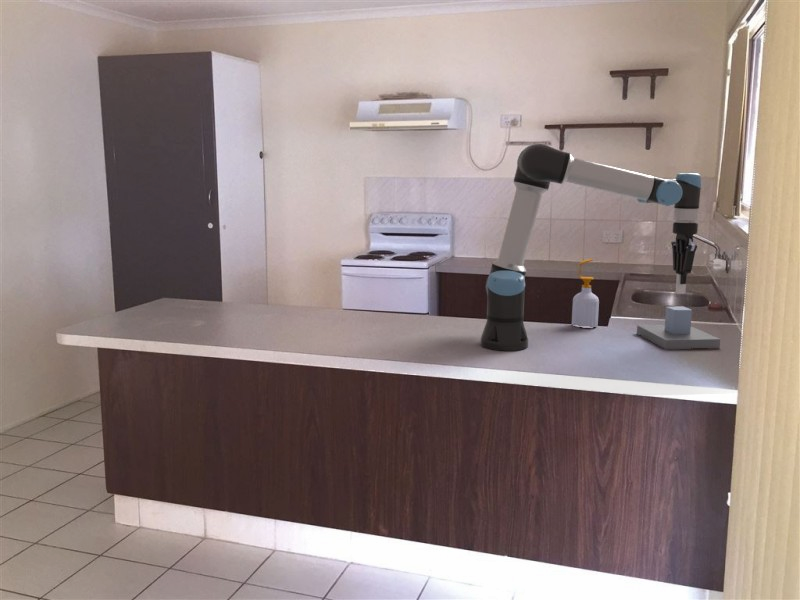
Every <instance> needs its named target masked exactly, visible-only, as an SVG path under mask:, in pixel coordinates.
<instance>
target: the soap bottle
mask: <svg viewBox="0 0 800 600" xmlns="http://www.w3.org/2000/svg"><path fill="white" fill-rule="evenodd" d="M593 261H594V259H593V258H588V259H584V260H581V261H580V262H579V265H578V266H579V267H578V276H579V279H580V280H582V282H584V284H581V291H580V292H578V293H576V294H575V295H574V296H573V298H572V311H571V325H578V326H590V327H596V328H597V327H598V324H599V310H600V309H599V306H600V305H599V304H600V300H599V297H598V296H597V295H596V294H594V293H593V292H592V285H590V283H591V282H592V281H593V280H594V279H595V278H594V277H593V276H581V274H582V273H581V272H582V271H581V267H582V265H583V264H587V263H589V262H593ZM574 328H577V326H575V327H574Z"/></svg>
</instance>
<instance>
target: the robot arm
mask: <svg viewBox="0 0 800 600" xmlns="http://www.w3.org/2000/svg"><path fill="white" fill-rule="evenodd" d="M516 161H517V162H516V163H517V166H516V170H515V174H514V177H513V178H514V179H513V184H514V186H515V189H516V190H515V192H514V197H513V201H512V204H511V209H510V212H509V217H508V219H507V223H506V228H505V232H504V235H503V239H502V242H501V246H500V251H499V255H498V258H497V259H495V260H494V261H492V264H491V267H490V270H489V275H488V277H487V279H486V282H485V292H486V295H487V297H486V298H487V301H486V302H487V303H486V322H485V325H484V328H483V331H482V333H481V336H480V346H482V348H486V349H489V350H496V351H508V352H509V351H521V350H525V349H527V348H528V347H529V338H528V335H527V330H526V327H525V324H524V315H525V311H524V310H525V309H524V308H525V288H526V280H525V277H526V273H527V268H526V267H525V265H524V264H525V260H526V256H527V252H528V249H529V245H530V242H531V241H530V240H531V238H532V234H533V229H534V227H535V223H536V220H537V215H538V211H539V207H540V203H541V200H542V196H543V194H544V193H547V192H548V191H549V187H550V185H551V183H554V184H558V185H559V184H560V185H563V184H565V183H569V184H574V185H579V186H582V187H587V188H591V189H595V190H600V191H604V192H608V193H613V194H617V195H621V196H625V197H628V198H634V199H636V200H637V201H638V203H643V204H658V205H662V206H665V207H669V206H673V207H674V208H673V218H672V219H673V221H674V222H673V223H672V233H673V234H674V235H675V240H674V241H673V240H672V241H671V247H672V248H671V249H672V270H673V271H674V272H675V274H676V280H675V292H674V294H676V295H685V294H686V293H687V292H686V291H687V278H688V277H687V275H689V274H691V273H692V269H693V266H694V265H693V263H694V260H695V255H696V254H695V253H696V250H697V249H698V245H697V244H694V237H693V236H694V235H697V234H698V230H699V229H698V228H699V224H698V221H699V216H700V215H699V214H700V203H701V201H700V199H701V192H702V190H701V189H702V175H701V174H700V173H695V172H694V173H692V172H691V173H690V172H688V173H686V172H685V173H683V172H680V173H677V174H676V177H675V178H673V179H664V178H660V177H657V176H652V175H647V174H644V173H639V172H636V171H631V170H628V169H623V168H619V167H615V166H611V165H606V164H602V163H597V162H594V161H589V160H585V159H580V158H576V157H573V156H572V154H571V153H570V152H566V151H563V150H559V149H558V148H555V147H554V148H553V147H552V146H549V145H546V144H544V143H536V144H531V145H527V147H525V148H524V149H523V150H522V151H521V152H520V153H519V156H518V157H517V160H516Z"/></svg>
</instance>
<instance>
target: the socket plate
mask: <svg viewBox="0 0 800 600" xmlns="http://www.w3.org/2000/svg"><path fill="white" fill-rule="evenodd" d="M664 329H665V324H637V325H636V334H637V335H638V334H639V335H638V336H640V335H641V336H640V337H642V338H644V339H646V340H647V339H648V340H647V341H649V340H650V341H649V342H652V343H654V344H655V345H657V346H658V347H660V346H661V348H662V349H664V350H694V349H693V348H708V349H720V345H721V338H719V337H716V336H714V335H712V334H709V333H707V332H705V331H703V330H700V329H698V328H696V327H694V326H692V325H691V330H690V334H672V333H669V332H667V331H665V330H664ZM691 348H692V349H691Z"/></svg>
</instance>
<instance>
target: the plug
mask: <svg viewBox="0 0 800 600" xmlns="http://www.w3.org/2000/svg"><path fill="white" fill-rule="evenodd" d="M692 316H693V309H691V308H688V307H686V306H681V305H680V306H679V305H678V306H665V316H664V317H665V318H664V325H665V329H664V330H665V331H667V332H669V333H672V334H690V330H691V326H692Z"/></svg>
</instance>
